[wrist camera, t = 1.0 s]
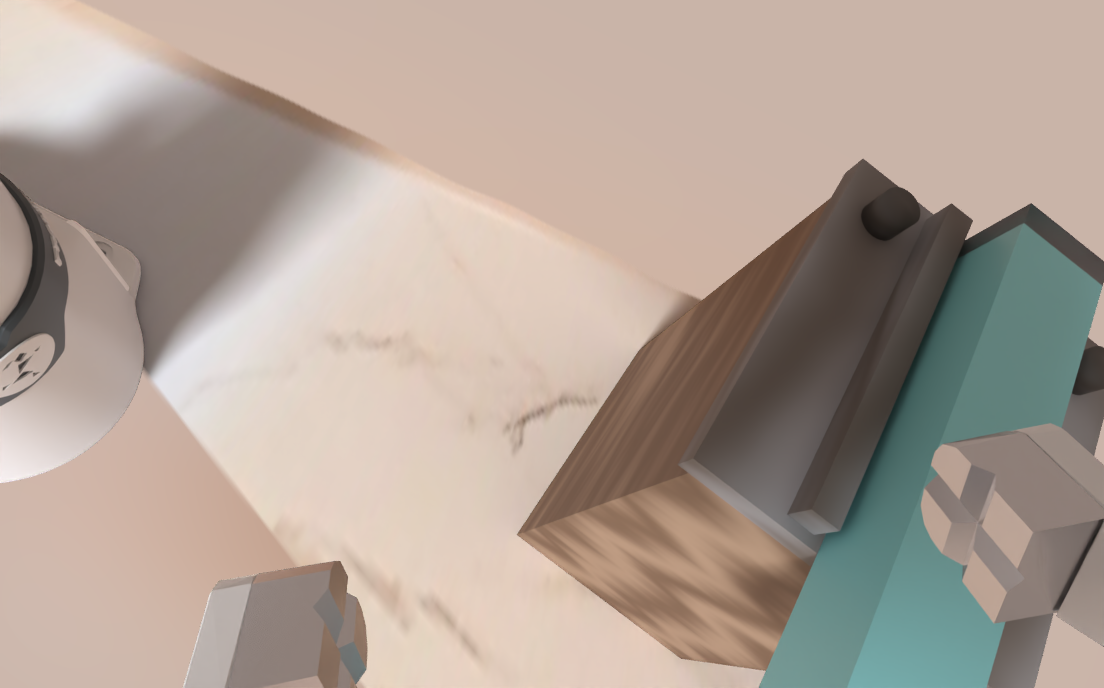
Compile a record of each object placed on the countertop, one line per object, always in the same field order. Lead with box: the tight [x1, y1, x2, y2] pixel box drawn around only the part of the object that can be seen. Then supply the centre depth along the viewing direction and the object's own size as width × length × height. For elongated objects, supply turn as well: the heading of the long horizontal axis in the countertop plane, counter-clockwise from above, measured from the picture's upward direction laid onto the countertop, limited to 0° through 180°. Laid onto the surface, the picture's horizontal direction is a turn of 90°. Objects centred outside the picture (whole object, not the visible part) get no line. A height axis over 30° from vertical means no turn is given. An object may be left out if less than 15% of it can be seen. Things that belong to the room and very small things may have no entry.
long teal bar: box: [759, 204, 1104, 688], centre depth 25 cm, size 4×26×4 cm, turn 146°
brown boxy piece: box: [517, 159, 1104, 688], centre depth 40 cm, size 15×17×27 cm
